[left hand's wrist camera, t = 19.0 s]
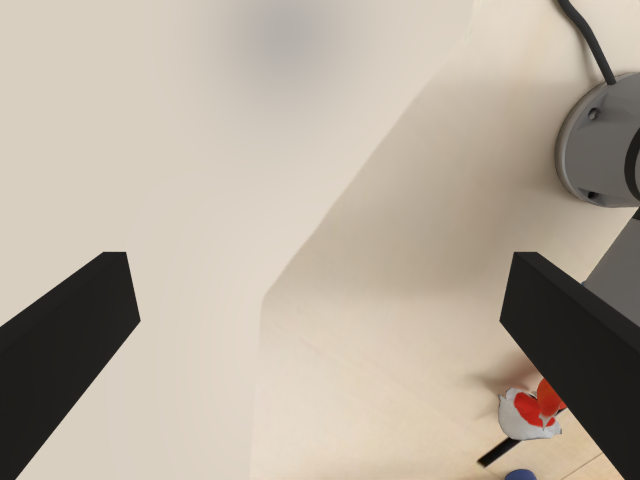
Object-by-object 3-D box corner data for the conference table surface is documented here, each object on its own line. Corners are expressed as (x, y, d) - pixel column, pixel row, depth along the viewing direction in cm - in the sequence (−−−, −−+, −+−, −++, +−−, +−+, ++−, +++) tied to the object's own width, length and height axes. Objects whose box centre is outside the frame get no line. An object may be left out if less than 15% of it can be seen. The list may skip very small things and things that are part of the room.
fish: (620, 401, 53) (628, 458, 45) (516, 418, 63) (509, 467, 55) (575, 340, 53) (575, 387, 46) (479, 366, 63) (466, 408, 56)
